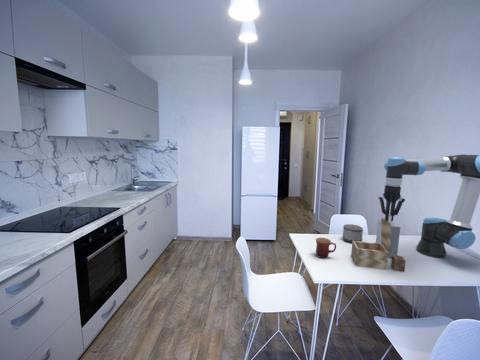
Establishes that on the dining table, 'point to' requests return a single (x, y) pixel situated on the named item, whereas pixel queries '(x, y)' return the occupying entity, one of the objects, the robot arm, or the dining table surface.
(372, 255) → the light wooden box
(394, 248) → the hard drive box
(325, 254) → the mug
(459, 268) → the dining table surface
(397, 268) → the walnut block
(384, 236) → the lid
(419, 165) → the robot arm
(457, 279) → the dining table surface
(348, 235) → the planter
